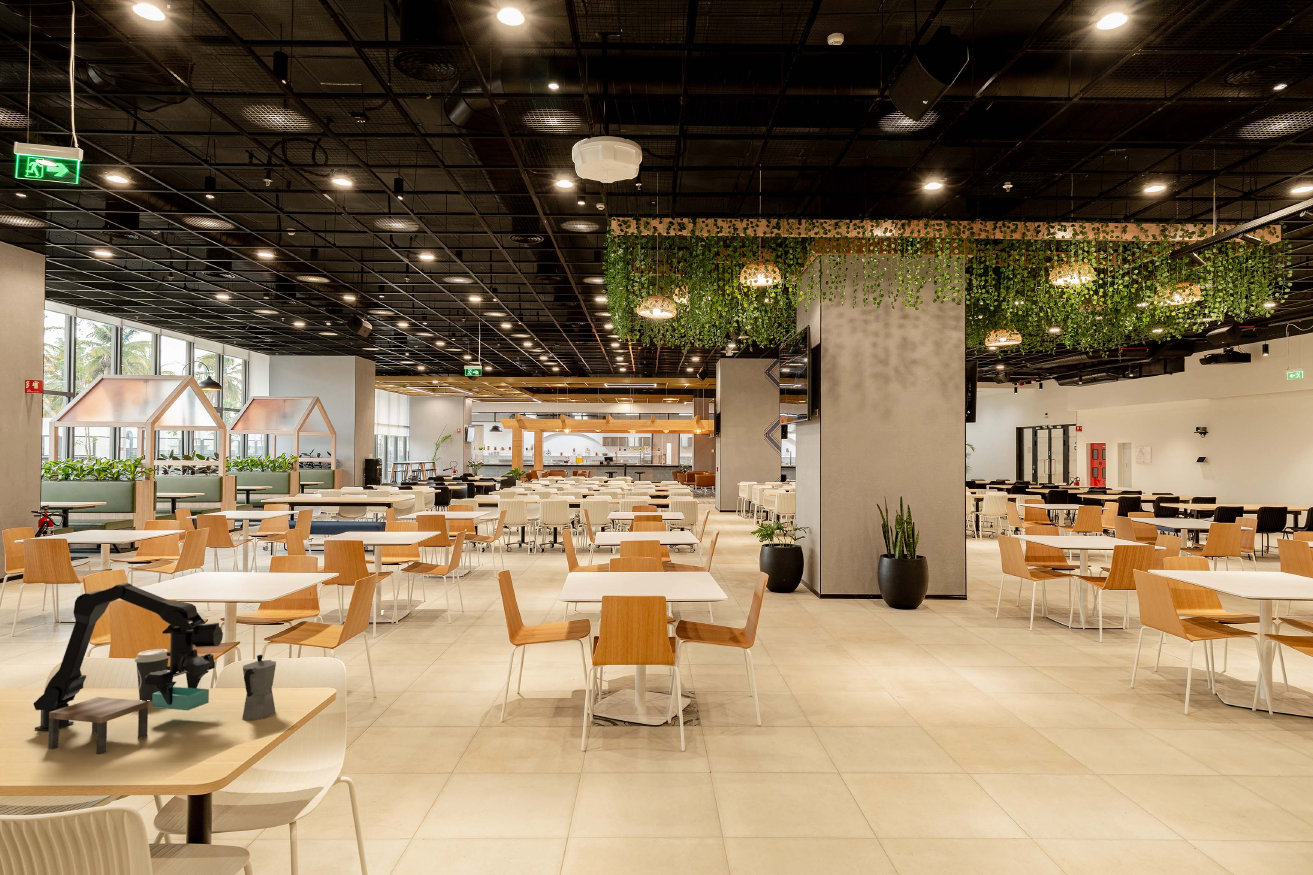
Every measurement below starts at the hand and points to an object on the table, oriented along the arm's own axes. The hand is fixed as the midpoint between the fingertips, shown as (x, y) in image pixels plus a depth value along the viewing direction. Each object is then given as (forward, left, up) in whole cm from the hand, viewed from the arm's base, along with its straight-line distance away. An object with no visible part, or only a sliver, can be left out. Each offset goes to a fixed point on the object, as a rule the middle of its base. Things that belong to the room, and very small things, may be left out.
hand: (180, 700), depth 210 cm
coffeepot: (+20, +8, -6) cm, 22 cm away
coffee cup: (-28, +15, -6) cm, 32 cm away
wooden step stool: (-7, -18, -6) cm, 21 cm away
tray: (0, 0, -1) cm, 1 cm away
